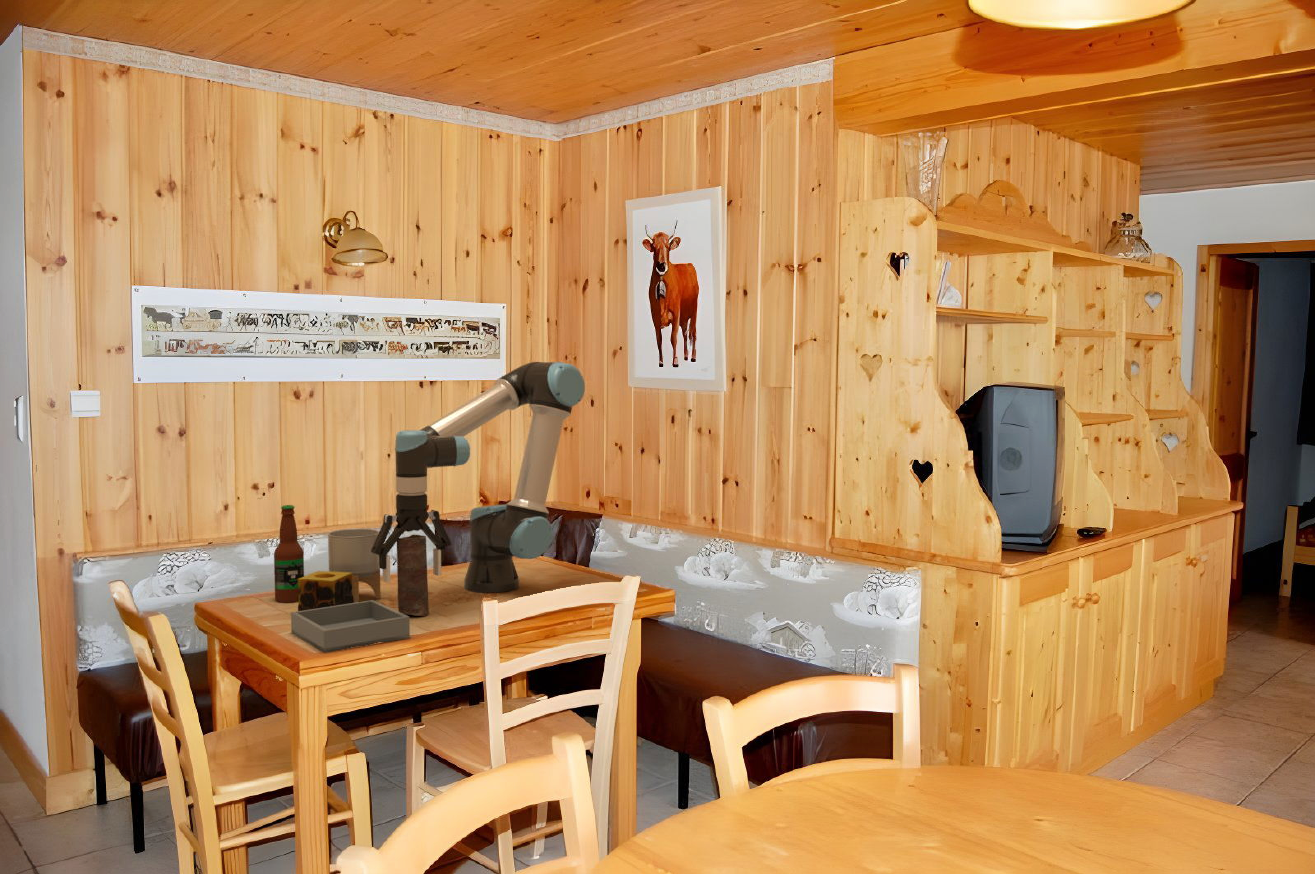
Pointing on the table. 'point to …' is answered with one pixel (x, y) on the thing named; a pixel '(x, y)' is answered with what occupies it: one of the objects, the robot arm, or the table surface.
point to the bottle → (288, 559)
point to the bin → (350, 625)
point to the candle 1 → (325, 590)
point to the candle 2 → (412, 575)
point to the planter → (355, 557)
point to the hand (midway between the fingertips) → (412, 578)
